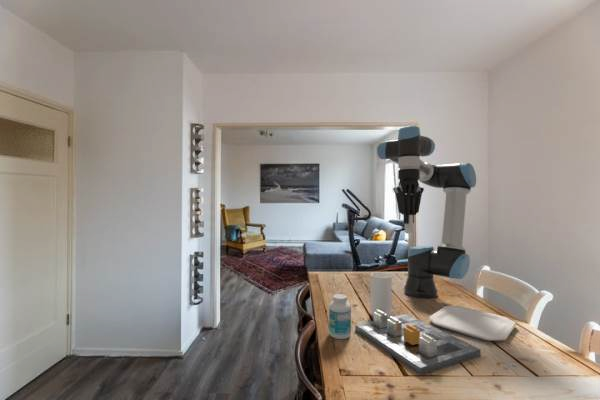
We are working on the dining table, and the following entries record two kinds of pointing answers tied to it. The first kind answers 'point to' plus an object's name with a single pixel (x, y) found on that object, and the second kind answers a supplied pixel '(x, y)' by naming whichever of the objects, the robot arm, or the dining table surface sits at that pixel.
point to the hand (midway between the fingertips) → (408, 232)
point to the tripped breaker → (411, 334)
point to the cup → (381, 293)
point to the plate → (473, 323)
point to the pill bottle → (340, 317)
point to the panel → (420, 357)
